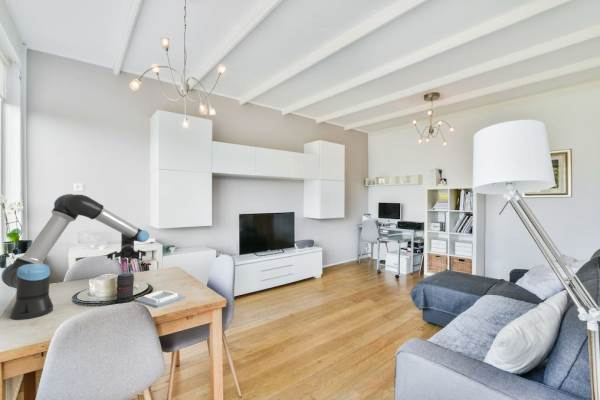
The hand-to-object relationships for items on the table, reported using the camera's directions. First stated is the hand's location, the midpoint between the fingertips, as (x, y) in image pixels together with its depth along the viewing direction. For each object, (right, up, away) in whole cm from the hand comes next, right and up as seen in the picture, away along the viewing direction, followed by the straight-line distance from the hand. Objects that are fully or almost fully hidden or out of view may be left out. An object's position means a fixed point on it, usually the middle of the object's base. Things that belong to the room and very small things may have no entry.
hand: (127, 257), depth 166 cm
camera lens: (+4, -23, -9) cm, 25 cm away
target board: (+22, -23, -5) cm, 33 cm away
